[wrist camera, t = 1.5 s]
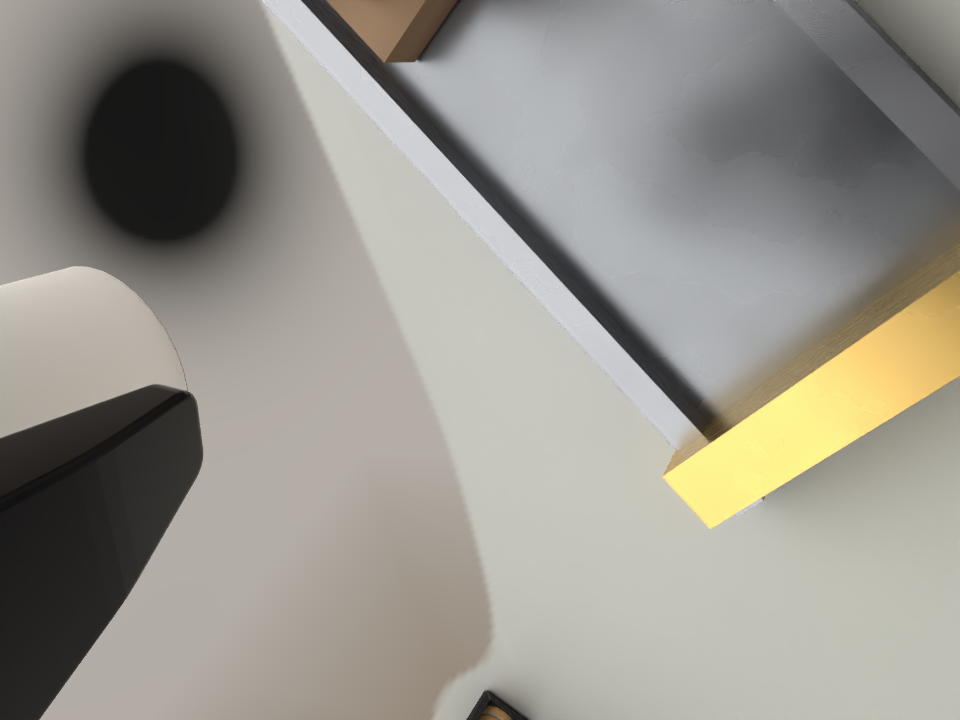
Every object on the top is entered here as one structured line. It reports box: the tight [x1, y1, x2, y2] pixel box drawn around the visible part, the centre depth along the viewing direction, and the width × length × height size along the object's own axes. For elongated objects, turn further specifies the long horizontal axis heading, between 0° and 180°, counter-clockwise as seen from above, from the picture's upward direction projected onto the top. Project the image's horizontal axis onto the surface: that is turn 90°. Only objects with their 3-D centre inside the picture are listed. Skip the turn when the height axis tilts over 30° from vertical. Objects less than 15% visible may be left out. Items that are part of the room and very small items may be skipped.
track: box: [262, 0, 960, 529], centre depth 17 cm, size 21×9×2 cm, turn 49°
